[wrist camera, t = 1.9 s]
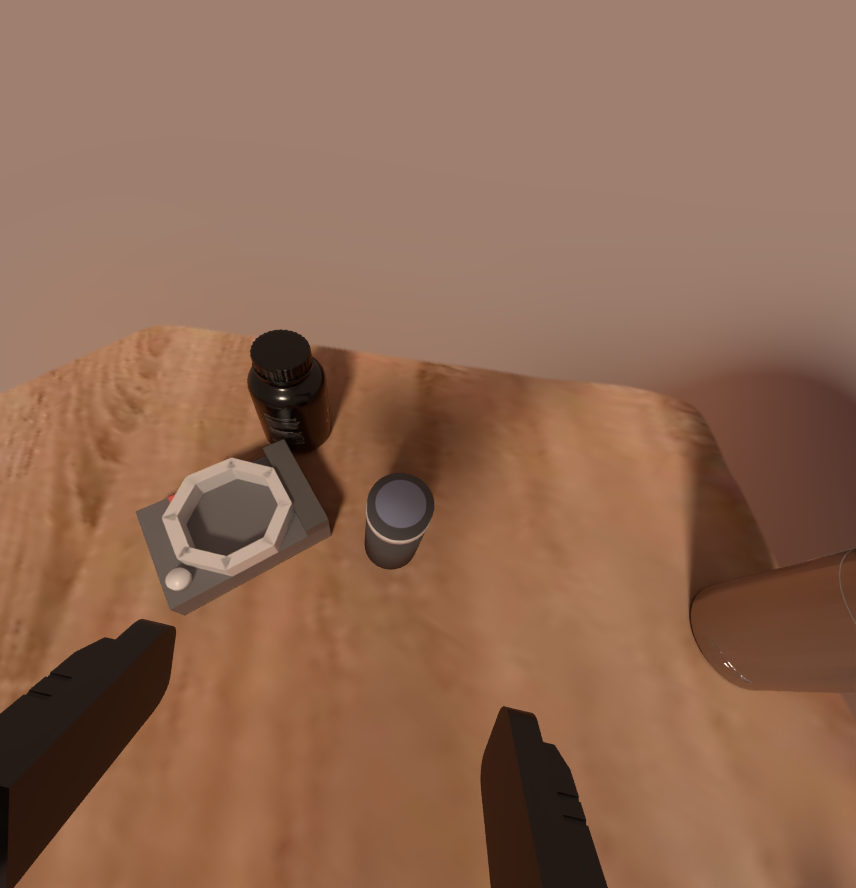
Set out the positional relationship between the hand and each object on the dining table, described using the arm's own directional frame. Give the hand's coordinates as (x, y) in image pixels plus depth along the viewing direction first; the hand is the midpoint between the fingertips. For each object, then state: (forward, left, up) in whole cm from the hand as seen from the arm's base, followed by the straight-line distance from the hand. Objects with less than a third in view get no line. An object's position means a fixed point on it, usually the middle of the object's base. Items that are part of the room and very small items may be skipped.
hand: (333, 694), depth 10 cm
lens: (-9, -8, -26) cm, 29 cm away
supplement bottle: (-7, -24, -26) cm, 36 cm away
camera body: (+2, -16, -26) cm, 31 cm away
